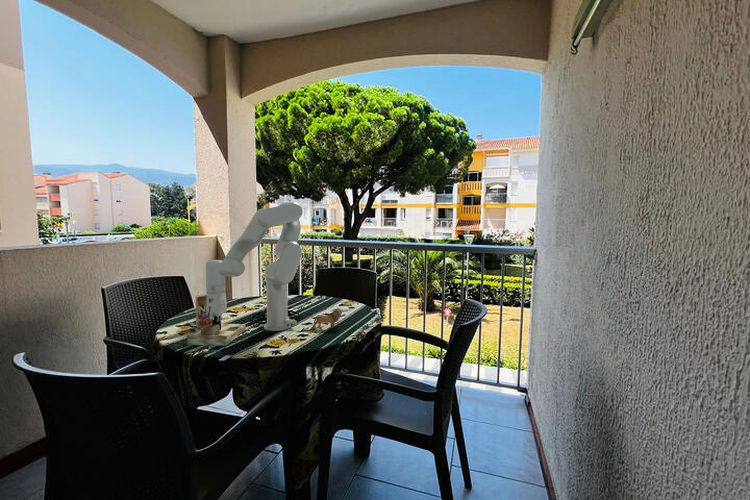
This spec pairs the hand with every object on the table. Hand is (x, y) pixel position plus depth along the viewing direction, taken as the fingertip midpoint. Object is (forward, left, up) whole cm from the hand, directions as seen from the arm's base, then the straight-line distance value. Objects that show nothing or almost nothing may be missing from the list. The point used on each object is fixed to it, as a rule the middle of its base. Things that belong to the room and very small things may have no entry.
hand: (216, 330), depth 156 cm
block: (0, +5, -1) cm, 5 cm away
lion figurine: (-46, -16, -4) cm, 49 cm away
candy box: (+12, -16, -4) cm, 20 cm away
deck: (0, -1, -3) cm, 3 cm away
